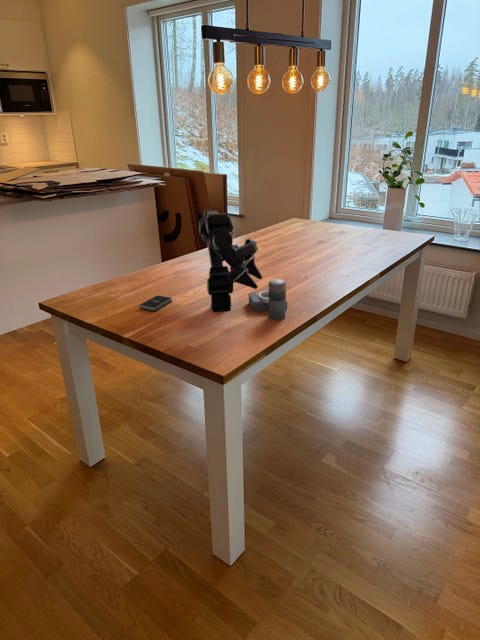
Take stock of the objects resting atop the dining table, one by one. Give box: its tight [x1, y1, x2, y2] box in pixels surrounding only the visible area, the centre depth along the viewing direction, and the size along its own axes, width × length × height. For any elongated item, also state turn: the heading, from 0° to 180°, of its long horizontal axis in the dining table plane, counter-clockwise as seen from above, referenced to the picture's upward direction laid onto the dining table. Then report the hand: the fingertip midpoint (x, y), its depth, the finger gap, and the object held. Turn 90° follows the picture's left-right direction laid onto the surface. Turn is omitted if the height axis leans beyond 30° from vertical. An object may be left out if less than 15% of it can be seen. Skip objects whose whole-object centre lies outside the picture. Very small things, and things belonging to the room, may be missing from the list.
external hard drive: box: [139, 294, 173, 313], centre depth 164 cm, size 7×11×2 cm, turn 151°
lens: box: [268, 278, 287, 321], centre depth 149 cm, size 6×6×13 cm
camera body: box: [248, 289, 288, 313], centre depth 160 cm, size 12×9×4 cm
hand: (259, 283), depth 148 cm, fingers open, 9 cm apart
